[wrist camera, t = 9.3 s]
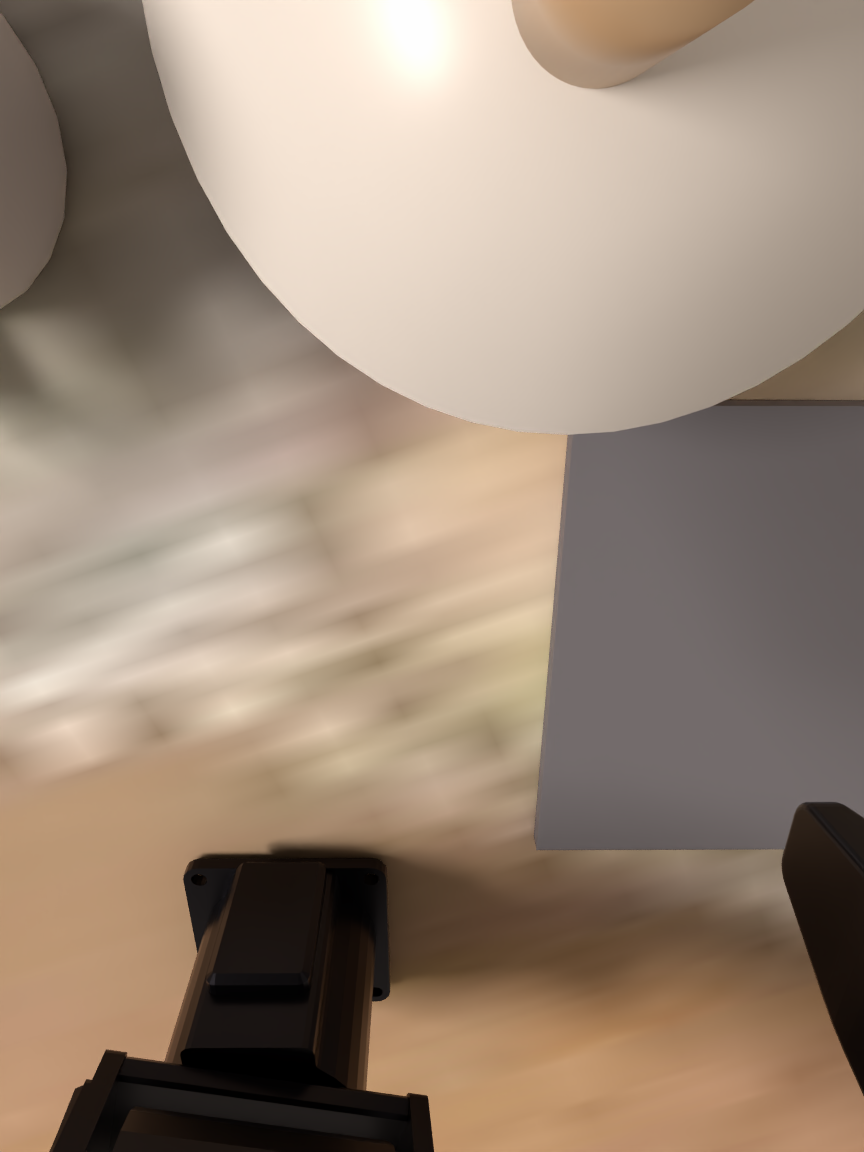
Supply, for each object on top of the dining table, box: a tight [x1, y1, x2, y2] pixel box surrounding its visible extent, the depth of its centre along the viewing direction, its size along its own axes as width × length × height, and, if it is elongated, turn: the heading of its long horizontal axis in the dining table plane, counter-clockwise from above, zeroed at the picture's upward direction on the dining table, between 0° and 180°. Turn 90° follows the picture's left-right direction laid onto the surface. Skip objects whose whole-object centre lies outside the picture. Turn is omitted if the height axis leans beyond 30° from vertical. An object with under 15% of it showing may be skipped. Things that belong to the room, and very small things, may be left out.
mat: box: [534, 400, 864, 850], centre depth 21 cm, size 14×14×1 cm
